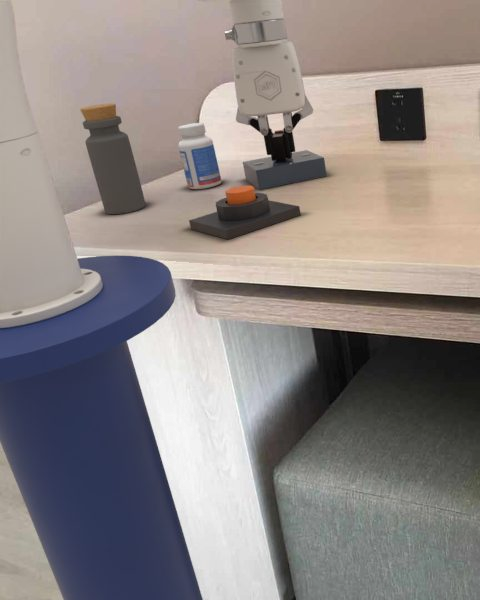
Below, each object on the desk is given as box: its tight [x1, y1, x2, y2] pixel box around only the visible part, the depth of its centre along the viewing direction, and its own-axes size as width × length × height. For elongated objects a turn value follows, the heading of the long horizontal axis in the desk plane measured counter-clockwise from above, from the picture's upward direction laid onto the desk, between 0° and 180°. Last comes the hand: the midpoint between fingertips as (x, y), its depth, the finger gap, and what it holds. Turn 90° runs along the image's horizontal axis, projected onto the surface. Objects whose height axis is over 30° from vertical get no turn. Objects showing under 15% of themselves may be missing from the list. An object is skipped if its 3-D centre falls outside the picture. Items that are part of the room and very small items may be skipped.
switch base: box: [188, 192, 301, 240], centre depth 87 cm, size 11×9×3 cm
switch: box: [224, 185, 256, 204], centre depth 86 cm, size 4×4×2 cm
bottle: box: [79, 102, 147, 215], centre depth 99 cm, size 6×6×15 cm
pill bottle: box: [177, 122, 222, 190], centre depth 109 cm, size 6×5×10 cm
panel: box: [242, 149, 328, 191], centre depth 109 cm, size 11×9×3 cm
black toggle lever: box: [272, 129, 287, 163], centre depth 108 cm, size 5×2×4 cm, turn 5°
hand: (282, 157), depth 108 cm, fingers closed on black toggle lever
